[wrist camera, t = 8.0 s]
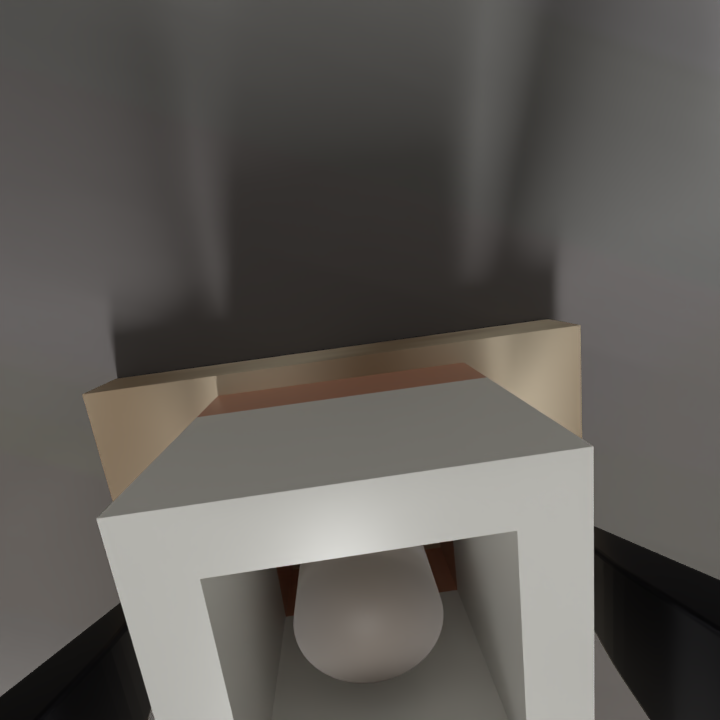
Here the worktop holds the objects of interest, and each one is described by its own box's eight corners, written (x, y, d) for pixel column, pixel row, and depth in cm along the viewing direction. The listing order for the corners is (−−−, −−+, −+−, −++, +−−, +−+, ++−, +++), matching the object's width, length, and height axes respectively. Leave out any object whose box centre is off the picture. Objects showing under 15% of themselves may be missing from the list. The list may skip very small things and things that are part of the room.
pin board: (548, 319, 11) (744, 355, 6) (561, 755, 15) (694, 1034, 9) (116, 378, 11) (-99, 477, 5) (231, 814, 14) (168, 1143, 9)
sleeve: (479, 573, 11) (594, 808, 6) (261, 607, 11) (201, 879, 6) (463, 362, 10) (593, 446, 5) (217, 395, 10) (96, 518, 5)
